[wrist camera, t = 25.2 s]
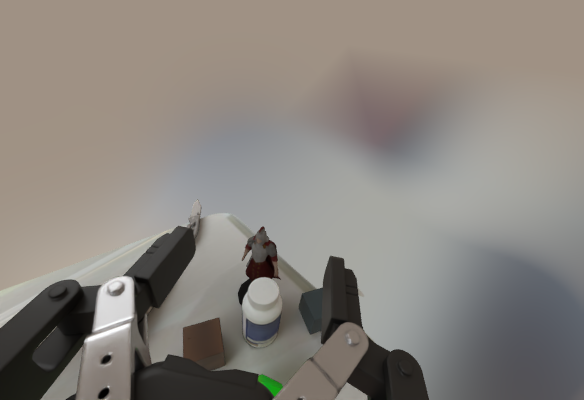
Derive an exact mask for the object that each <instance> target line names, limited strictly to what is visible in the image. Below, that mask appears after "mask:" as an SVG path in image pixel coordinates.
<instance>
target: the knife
mask: <svg viewBox="0 0 584 400" xmlns="http://www.w3.org/2000/svg"><path fill="white" fill-rule="evenodd" d="M200 213H201V205H200V203H199V200H196V201H195V203H194V204H193V208H192V212H191V216H190V218H189V222H190V224H189V225H188V226H187V228H191V226H192V229H193V233H194V239H195V238H196V236H197V234H198V230H199V222H200Z"/></svg>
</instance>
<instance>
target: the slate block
mask: <svg viewBox="0 0 584 400" xmlns="http://www.w3.org/2000/svg"><path fill="white" fill-rule="evenodd" d="M322 298H323V288H320V289H316V290H313V291H309V292H306V293H302V296H301V300H300V304H299V310H300V312H301V315H302V317H303V319H304V322H305V324H306V326H307V329H308V331H309V333H310V334H313V333H316V332H319V331H321V329H322Z"/></svg>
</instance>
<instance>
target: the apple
mask: <svg viewBox="0 0 584 400" xmlns="http://www.w3.org/2000/svg"><path fill="white" fill-rule="evenodd" d="M258 381H259V382H260V383H262V384H263V385H264V386H266V387H267V388H268V389H269V390H270V392H271V393H272V394H273V396H274V397H275V396H276V395H277V394H278V393H279V391H280V390H281V389H282V388H283V386H282V384H280V383H279V382H277V381H275V380H273V379H271V378H269V377H267V376H265V375H263V374H262V375H259V376H258Z"/></svg>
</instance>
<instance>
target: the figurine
mask: <svg viewBox="0 0 584 400" xmlns="http://www.w3.org/2000/svg"><path fill="white" fill-rule="evenodd" d="M245 248H246V249H245V252H244V256H243V258H242V261H243V260H244V258H245V256H246V255H247V253H248V252H249V251H250V250H252V256H251V258H250V260H249V262H248V263H247V269H246V275H247V276H248V277H249V278H250V279H248V280H247V281H246V282H244V283H243V284H242V285H241V287H240V289H239V292H238V297H239V302H240V304H241V305H242V303H243V299H244V296H245V295H246V293H247V292H248V288H249V286H250V284H251V283H252V282H253V281H254V280H255V279H258V278H261V277H266V278H270V279H272V278H278V279H280V278H279V277H278V267H277V261H278V259H277V250H276V245H275V243H274V242H272V241H270V240H269V238H268V236H266V231H265V228H264V227H261V229H260V230H259V231H258V232H257V234H256V235H255V236H253V237H251V238H249V239H248V242H247V245H246V247H245ZM280 280H281V279H280Z"/></svg>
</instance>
